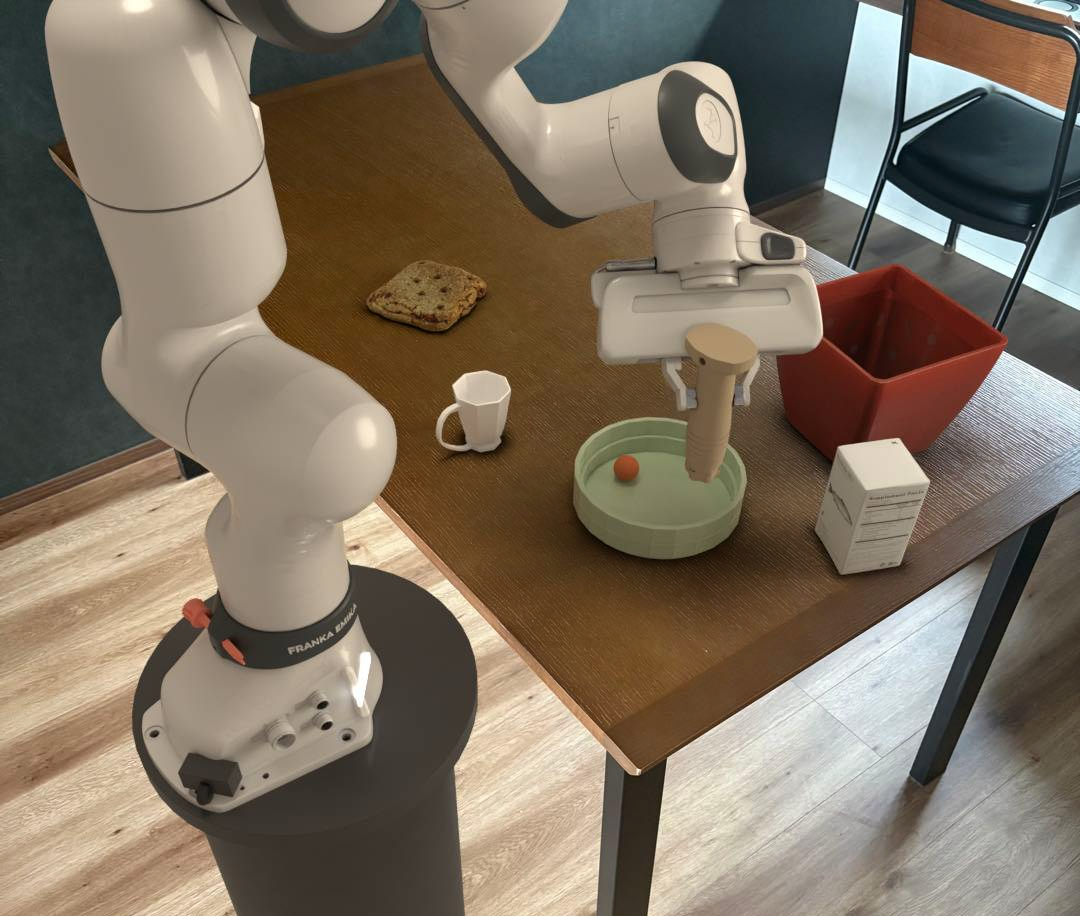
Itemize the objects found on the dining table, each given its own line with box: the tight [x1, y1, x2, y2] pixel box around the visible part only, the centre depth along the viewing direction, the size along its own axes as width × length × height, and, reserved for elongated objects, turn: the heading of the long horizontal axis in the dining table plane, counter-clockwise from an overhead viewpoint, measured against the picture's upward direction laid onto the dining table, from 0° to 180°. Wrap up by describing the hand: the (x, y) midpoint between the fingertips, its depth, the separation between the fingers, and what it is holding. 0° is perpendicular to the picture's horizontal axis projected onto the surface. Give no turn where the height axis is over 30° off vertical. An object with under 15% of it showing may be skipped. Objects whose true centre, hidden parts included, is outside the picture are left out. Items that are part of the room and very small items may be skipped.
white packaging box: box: [814, 438, 931, 575], centre depth 115 cm, size 7×7×13 cm
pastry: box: [365, 259, 488, 332], centre depth 153 cm, size 17×17×3 cm
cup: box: [435, 369, 512, 453], centre depth 129 cm, size 7×10×8 cm
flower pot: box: [775, 263, 1009, 464], centre depth 128 cm, size 19×19×17 cm
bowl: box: [572, 416, 748, 560], centre depth 123 cm, size 19×19×5 cm
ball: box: [613, 455, 639, 481], centre depth 126 cm, size 3×3×3 cm
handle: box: [685, 323, 758, 483], centre depth 98 cm, size 5×6×15 cm
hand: (714, 408), depth 97 cm, fingers closed on handle, 3 cm apart
